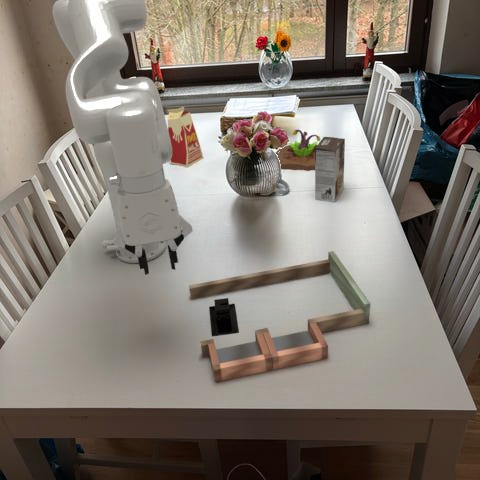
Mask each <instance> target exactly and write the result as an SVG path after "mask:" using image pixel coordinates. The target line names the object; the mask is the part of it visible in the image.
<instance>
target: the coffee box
mask: <svg viewBox="0 0 480 480" xmlns="http://www.w3.org/2000/svg"><path fill="white" fill-rule="evenodd" d="M345 141H346V138H339V137H334V136H323V137H322V139H320V141H318V143H317V146H316V148H315V170H314V182H315V183H314V199H315V201H316V200H317V201H325V202H332V203H336V202H337V200H338V198H339V197H340V195H341V194H342V192H343V190H344V186H345V185H344V180H345V147H346V142H345Z"/></svg>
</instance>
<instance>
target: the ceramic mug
mask: <svg viewBox="0 0 480 480" xmlns="http://www.w3.org/2000/svg"><path fill="white" fill-rule="evenodd" d="M282 176H283V175H282V173H281V174H280V179H279V181H278V184H272V187H271V191H270V192H269V193H268V194H260V196H269V195H271V194H273V192H274V193H275V194H278V195H286V194H288V192H289V190H290V184H289V183H288V182H287V181H286V180H284V179H282ZM279 185H282V186H283V187H285V189H280V188H278V186H279Z"/></svg>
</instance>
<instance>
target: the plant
mask: <svg viewBox="0 0 480 480" xmlns="http://www.w3.org/2000/svg"><path fill="white" fill-rule="evenodd" d="M298 132H299V134H300V137H301V138H300V141H297V140H295V141H294V143H291V142H289V143H288V144H287V145H285V147H284V146H283V147H284V148H282V147H281V148H282V149H280V148H279V149H278V150H276V151H275V153H276V154H277V155H278V152H279V151H280V154H279V155H278V158H279V160H280V164H281V169H280V170H283V171H284V170H290V171H291V170H292V171H306V172H309V171H315V148H316V146H317V145H318V144H319V142H320V141H321V137H320V136H319V135H317V134H312V135H309V136H308V132H307V131H304V132H302V130H300V129H294V130H293V131H292V134H293V135H294V136H296V135H297V134H298ZM307 136H308V137H307ZM313 137H315V138H316V141H315V142H312V143H310V140H311V139H312V138H313Z"/></svg>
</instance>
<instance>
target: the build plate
mask: <svg viewBox="0 0 480 480" xmlns="http://www.w3.org/2000/svg"><path fill="white" fill-rule="evenodd" d="M208 308H209V309H208V311H209V320H210V321H209V323H210V333H211V334H210V335H211V337H218V336H228V335H233V334H239V333H240V330H239V329H240V328H239V323H238V317H237V309H236V304H235V303H230V302H229V297H226V298H225V297H224V298H218V299H217V298H216V299H214V305H212V306H208Z"/></svg>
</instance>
